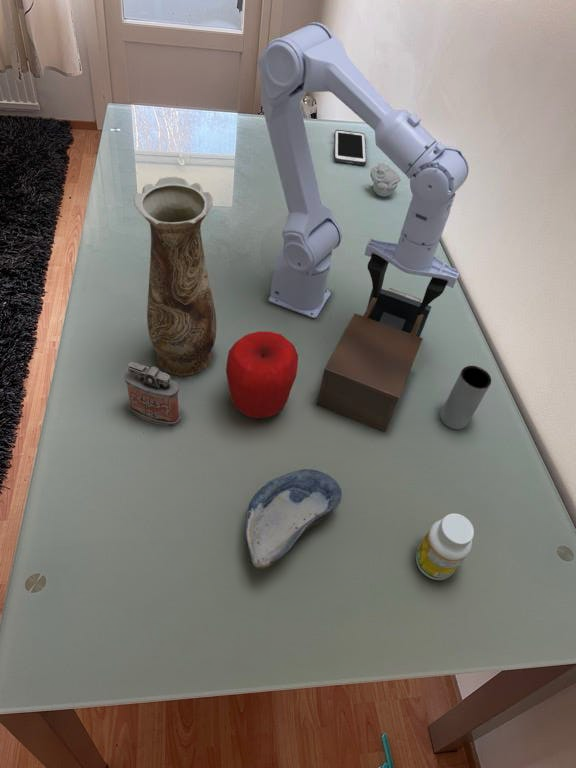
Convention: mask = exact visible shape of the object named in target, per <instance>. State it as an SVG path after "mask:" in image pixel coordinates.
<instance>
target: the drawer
mask: <svg viewBox="0 0 576 768" xmlns="http://www.w3.org/2000/svg"><path fill="white" fill-rule="evenodd" d="M421 303H422V298H420V297H417V296H414V295H412V294H408V293H406V292H403V291H400V290H397V289H394V288H391V287H388V290H386V289H384V288H381V291H380V293H379V295H378V297H377V298H373V288H372V289H371V292H370V296H369V299H368V303H367V306H366V310H365V312H364V313H363V315H362V316H364V317H366V318H369V319H372V320H375V321H377V322H379V321H380V319H381V316H382V314H383V312H385V313H388V314H391V315H394V316H396V317H399V318H402V319H405V320H406V322H405V324H404V327H403V330H402V331H405V332H407V333H410V334H413V335H415V336H418V337H421V336H422V332H423V331H424V328H425V326H426V323H427V320H428V318H429V315H430V313H431V310H432V306H431V305H430V304H428V306H427V307H426V308H425V309H424V310H423V312H422V314H421V315H417V311H418V309H419V307H420V305H421Z"/></svg>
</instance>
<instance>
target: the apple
mask: <svg viewBox="0 0 576 768" xmlns="http://www.w3.org/2000/svg"><path fill="white" fill-rule="evenodd" d="M298 364H299V354H298V352H297V349H296V347H295V345H294V344H293V343H292V342H291V341H290V340H288V339H287V338H286V337H285V336H284V335H283V334H282V333H277V332H273V331H256V332H251V333H248V334H245V335H244V336H242V337H241V338H240V339H238V340H237V341H235V342H234V343H233V345H232V346H231V348H230V349H229V350H228V353H227V358H226V365H225V366H226V368H225V374H226V379H227V385H228V390H229V395H230V399H231V402H232V404H233V407H234V408H235V409H237V411H239V412H240V413H241V414H243V415H246V416H248V417H250V418H255V419H256V418H258V419H265V418H268V417H272V416H275V415H277V414H278V413H280V412H282V411H283V409H284V407H285V406H286V403H287V402H288V399H289V396H290V393H291V391H292V388H293V385H294V382H295V380H296V378H297V374H298V373H297V372H298Z"/></svg>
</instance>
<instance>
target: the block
mask: <svg viewBox="0 0 576 768" xmlns="http://www.w3.org/2000/svg"><path fill="white" fill-rule="evenodd" d="M379 322H380V323H383V324H385V325H388V326H391V327H394V328H396V329H399V330H403V327H404V324H405V322H406V320H405V319H402V318H399V317H396V316H394V315H391V314H388V313H385V312H383V314H382V316H381V319H380V321H379Z"/></svg>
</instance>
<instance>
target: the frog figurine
mask: <svg viewBox="0 0 576 768" xmlns="http://www.w3.org/2000/svg"><path fill="white" fill-rule="evenodd" d="M369 176H370V178H371V181H372V182H373V185H372V186H373V190H374V192H375V193H376V195H378V196H379V197H388V196H391V195H392V194H393V193H394V191H395V190H397V187H398V183H400V182H401V181H402V180H401V177H400V175H399V173H397V172H396V171H395V170H394V169H392V167H390V165H388V164H385V163H384V162H380V163H378V165H376V166H374V167H371V169H370V174H369Z"/></svg>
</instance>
